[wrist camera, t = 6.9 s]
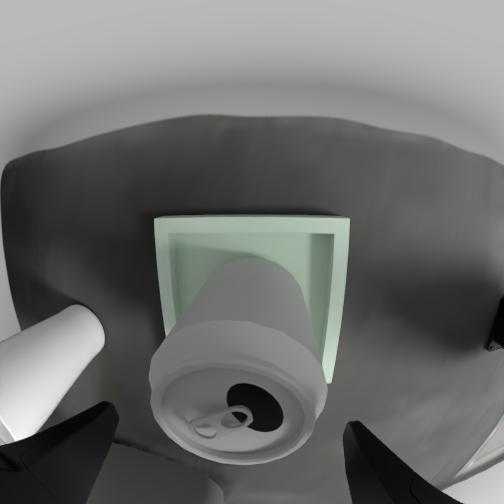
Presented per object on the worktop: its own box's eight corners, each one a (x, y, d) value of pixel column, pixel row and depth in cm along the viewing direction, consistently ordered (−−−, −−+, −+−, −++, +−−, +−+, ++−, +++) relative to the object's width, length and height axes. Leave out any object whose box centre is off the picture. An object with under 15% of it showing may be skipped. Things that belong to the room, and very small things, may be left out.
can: (318, 324, 20) (355, 449, 8) (232, 358, 21) (201, 481, 9) (277, 235, 19) (284, 306, 7) (185, 280, 20) (97, 374, 8)
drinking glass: (125, 347, 23) (33, 456, 8) (86, 361, 24) (6, 446, 9) (88, 285, 22) (-36, 363, 7) (53, 308, 23) (-46, 374, 8)
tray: (342, 216, 19) (349, 218, 17) (327, 369, 21) (331, 383, 20) (164, 215, 20) (153, 218, 18) (179, 363, 22) (173, 376, 20)
